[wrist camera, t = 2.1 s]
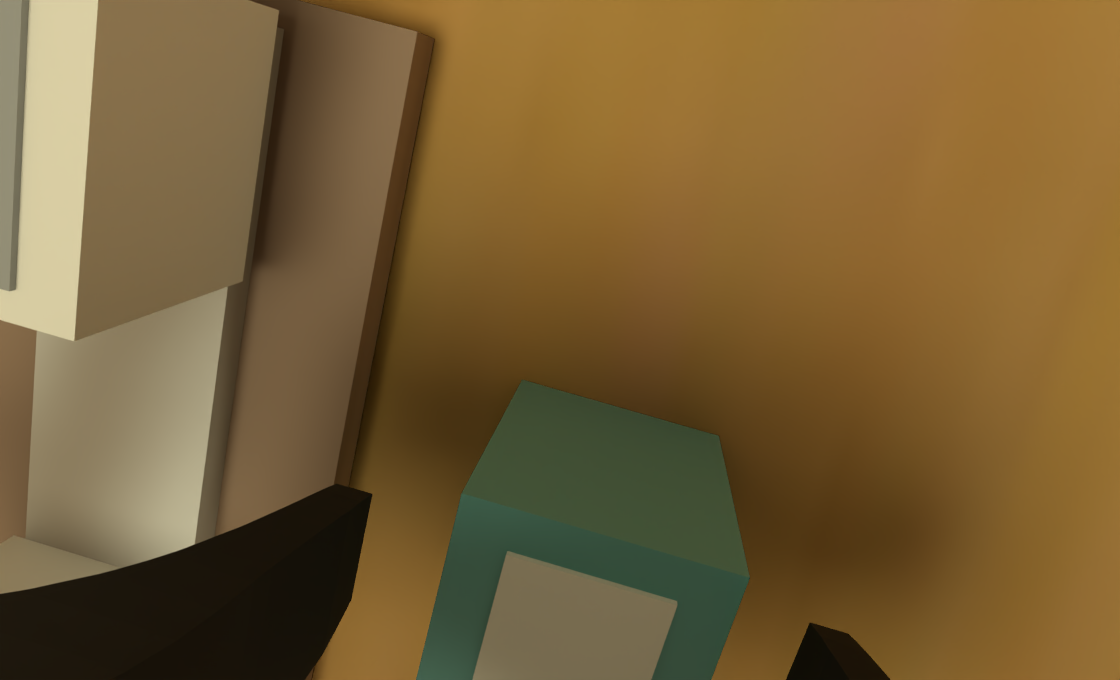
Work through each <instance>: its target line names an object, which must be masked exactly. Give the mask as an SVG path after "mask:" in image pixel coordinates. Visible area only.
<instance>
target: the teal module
mask: <svg viewBox="0 0 1120 680" xmlns="http://www.w3.org/2000/svg"><path fill="white" fill-rule="evenodd" d="M749 579H750V576H749V571H748V567H747V562H746V558H745V553H744V549H743V544H742V539H741V535H740V530H739V526H738V521H737V517H736V512H735V507H734V503H733V498H732V494H731V489H730V485H729V480H728V476H727V471H726V466H725V462H724V457H723V453H722V448H721V444H720V439H719V436H718V435H714V434H711V433H707V432H704V431H700V430H697V429H693V428H690V427H686V426H683V425H679V424H676V423H672V422H669V421H665V420H662V419H658V418H655V417H651V416H648V415H644V414H641V413H637V412H634V411H630V410H627V409H623V408H620V407H616V406H613V405H609V404H606V403H602V402H599V401H595V400H592V399H588V398H585V397H581V396H578V395H574V394H571V393H567V392H564V391H560V390H557V389H553V388H550V387H546V386H543V385H539V384H536V383H532V382H529V381H525V380H522V381H521V383H520V385H519V387H518V389H517V390H516V392H515V394H514V396H513V398H512V400H511V402H510V404H509V405H508V407H507V409H506V411H505V413H504V415H503V417H502V419H501V420H500V422H499V424H498V426H497V428H496V430H495V432H494V434H493V435H492V437H491V439H490V441H489V443H488V445H487V447H486V449H485V450H484V452H483V454H482V456H481V458H480V460H479V462H478V464H477V465H476V467H475V469H474V471H473V473H472V475H471V477H470V479H469V480H468V482H467V484H466V486H465V488H464V490H463V492H462V494H461V498H460V502H459V506H458V510H457V514H456V519H455V523H454V527H453V531H452V535H451V539H450V543H449V547H448V551H447V555H446V560H445V564H444V568H443V572H442V576H441V580H440V584H439V588H438V592H437V596H436V601H435V605H434V609H433V613H432V617H431V621H430V625H429V629H428V633H427V637H426V641H425V646H424V650H423V654H422V658H421V662H420V666H419V670H418V674H417V678H416V680H711V679H712V676H713V673H714V671H715V668H716V665H717V663H718V660H719V658H720V655H721V652H722V650H723V647H724V644H725V642H726V639H727V637H728V634H729V631H730V629H731V626H732V623H733V621H734V618H735V616H736V613H737V610H738V608H739V605H740V602H741V600H742V597H743V595H744V592H745V589H746V587H747V584H748V581H749Z"/></svg>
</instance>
